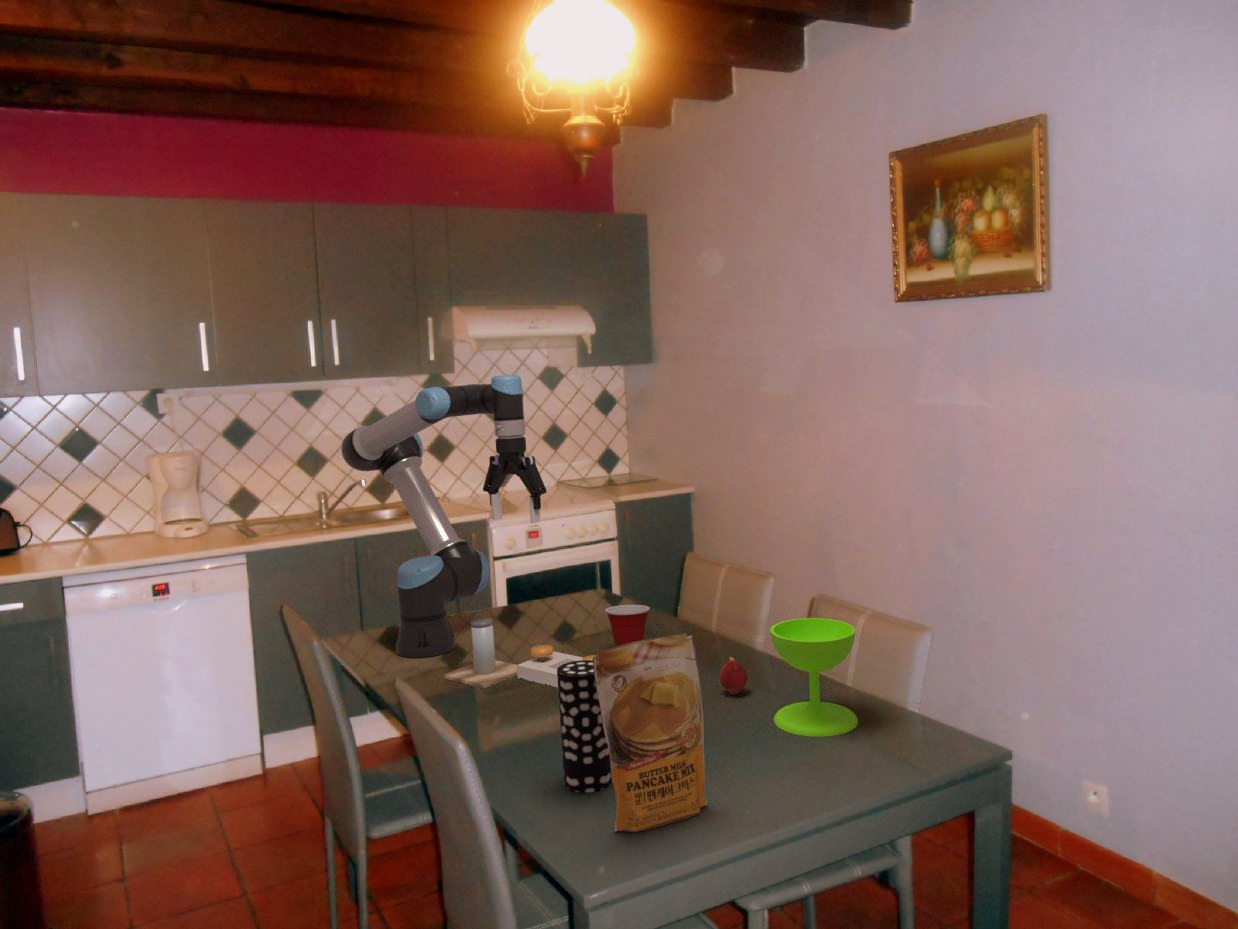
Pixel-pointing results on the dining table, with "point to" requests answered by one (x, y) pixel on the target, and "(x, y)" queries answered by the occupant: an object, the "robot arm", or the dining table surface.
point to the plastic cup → (627, 623)
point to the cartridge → (483, 646)
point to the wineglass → (814, 673)
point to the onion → (733, 676)
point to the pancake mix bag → (653, 729)
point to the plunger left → (542, 652)
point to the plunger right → (588, 657)
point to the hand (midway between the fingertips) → (516, 521)
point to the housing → (544, 668)
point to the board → (482, 675)
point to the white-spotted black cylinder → (582, 729)
